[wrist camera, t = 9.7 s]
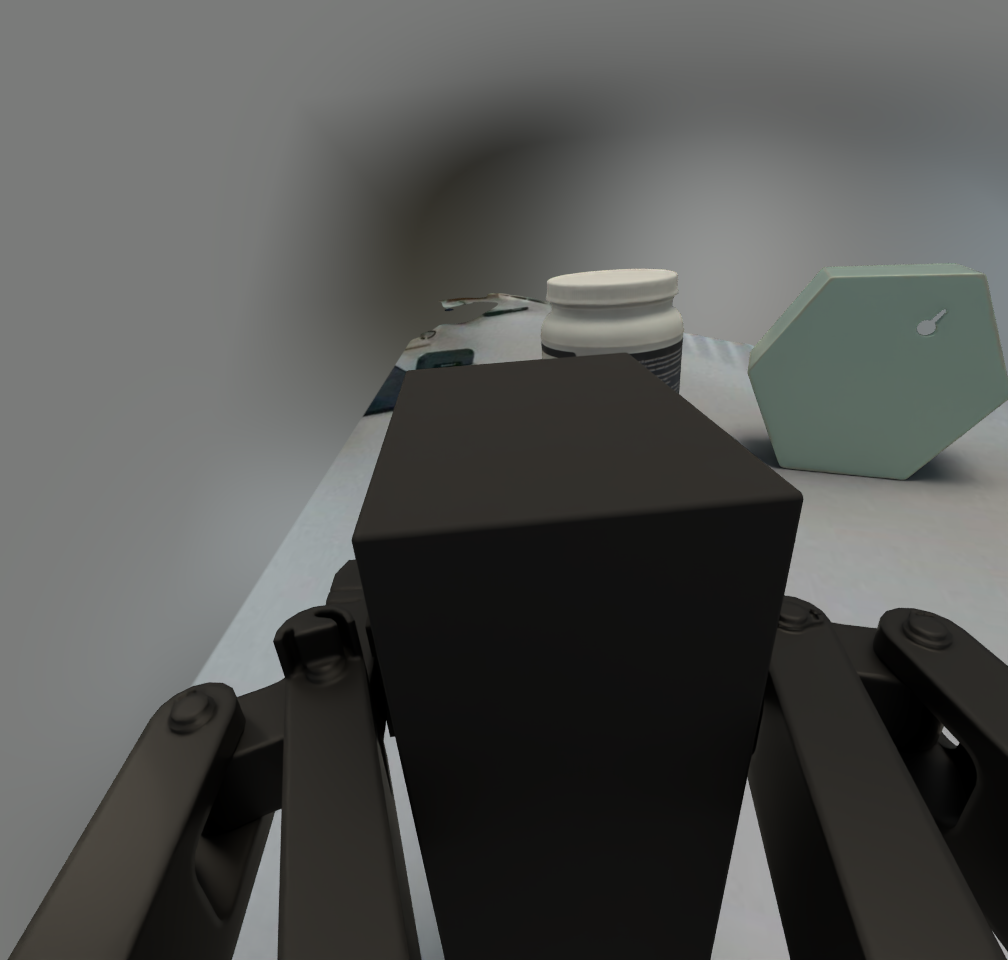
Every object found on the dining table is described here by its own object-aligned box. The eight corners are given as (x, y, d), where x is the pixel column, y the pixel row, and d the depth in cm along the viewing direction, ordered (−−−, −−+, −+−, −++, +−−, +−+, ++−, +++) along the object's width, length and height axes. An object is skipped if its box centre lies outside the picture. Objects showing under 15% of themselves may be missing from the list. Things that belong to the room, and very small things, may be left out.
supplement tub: (681, 447, 59) (696, 265, 51) (664, 503, 48) (679, 283, 40) (566, 437, 63) (562, 269, 55) (527, 486, 53) (516, 287, 45)
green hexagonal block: (846, 484, 58) (1042, 319, 46) (856, 520, 52) (1086, 338, 40) (714, 393, 60) (872, 209, 48) (707, 416, 53) (888, 211, 41)
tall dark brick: (455, 1016, 11) (349, 537, 6) (456, 719, 17) (405, 369, 12) (707, 983, 11) (807, 493, 6) (615, 701, 17) (627, 351, 12)
